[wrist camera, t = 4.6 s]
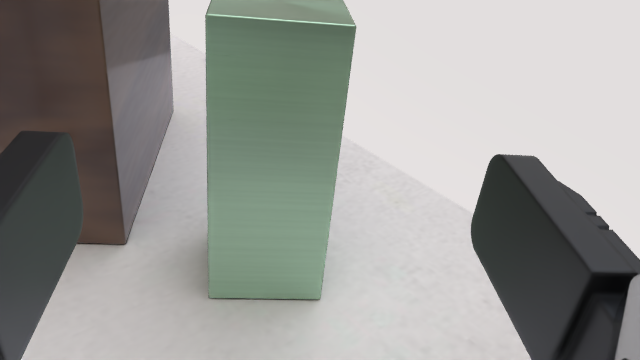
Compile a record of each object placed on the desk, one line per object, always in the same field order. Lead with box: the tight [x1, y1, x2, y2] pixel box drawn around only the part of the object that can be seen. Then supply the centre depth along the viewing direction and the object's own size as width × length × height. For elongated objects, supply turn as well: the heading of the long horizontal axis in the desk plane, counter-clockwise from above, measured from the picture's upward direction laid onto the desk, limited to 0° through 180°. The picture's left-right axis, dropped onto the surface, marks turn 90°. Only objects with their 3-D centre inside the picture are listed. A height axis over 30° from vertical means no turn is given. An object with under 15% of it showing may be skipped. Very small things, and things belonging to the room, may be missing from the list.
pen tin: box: [206, 0, 356, 299], centre depth 20 cm, size 4×4×11 cm
